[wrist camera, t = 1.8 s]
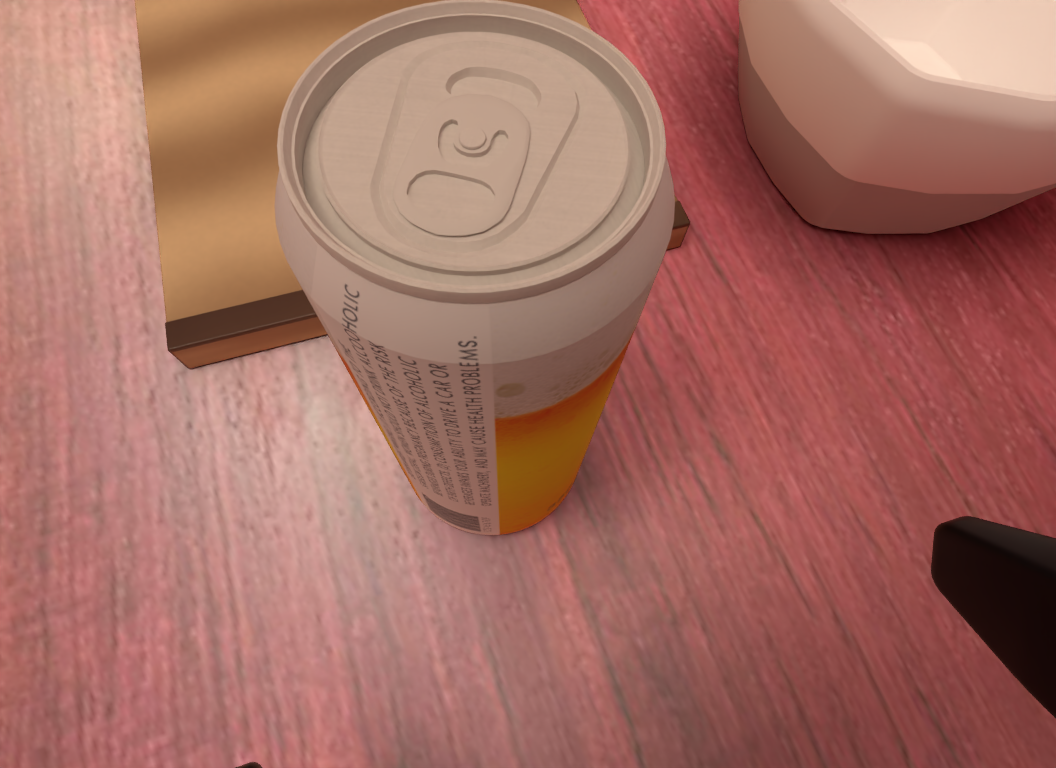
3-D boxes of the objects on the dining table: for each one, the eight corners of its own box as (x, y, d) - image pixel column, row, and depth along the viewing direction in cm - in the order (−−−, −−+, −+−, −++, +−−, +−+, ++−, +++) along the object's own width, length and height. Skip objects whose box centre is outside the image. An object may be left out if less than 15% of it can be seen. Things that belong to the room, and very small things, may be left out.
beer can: (593, 397, 23) (722, 25, 9) (556, 560, 21) (655, 376, 7) (438, 359, 24) (345, -52, 10) (383, 513, 21) (160, 254, 7)
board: (680, 246, 26) (691, 222, 25) (188, 369, 23) (167, 350, 22) (485, -153, 37) (484, -186, 36) (136, -104, 34) (119, -138, 33)
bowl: (747, 320, 25) (876, 143, 16) (640, 18, 32) (691, -219, 23) (1142, 265, 27) (1450, 78, 18) (959, -10, 33) (1118, -240, 25)
